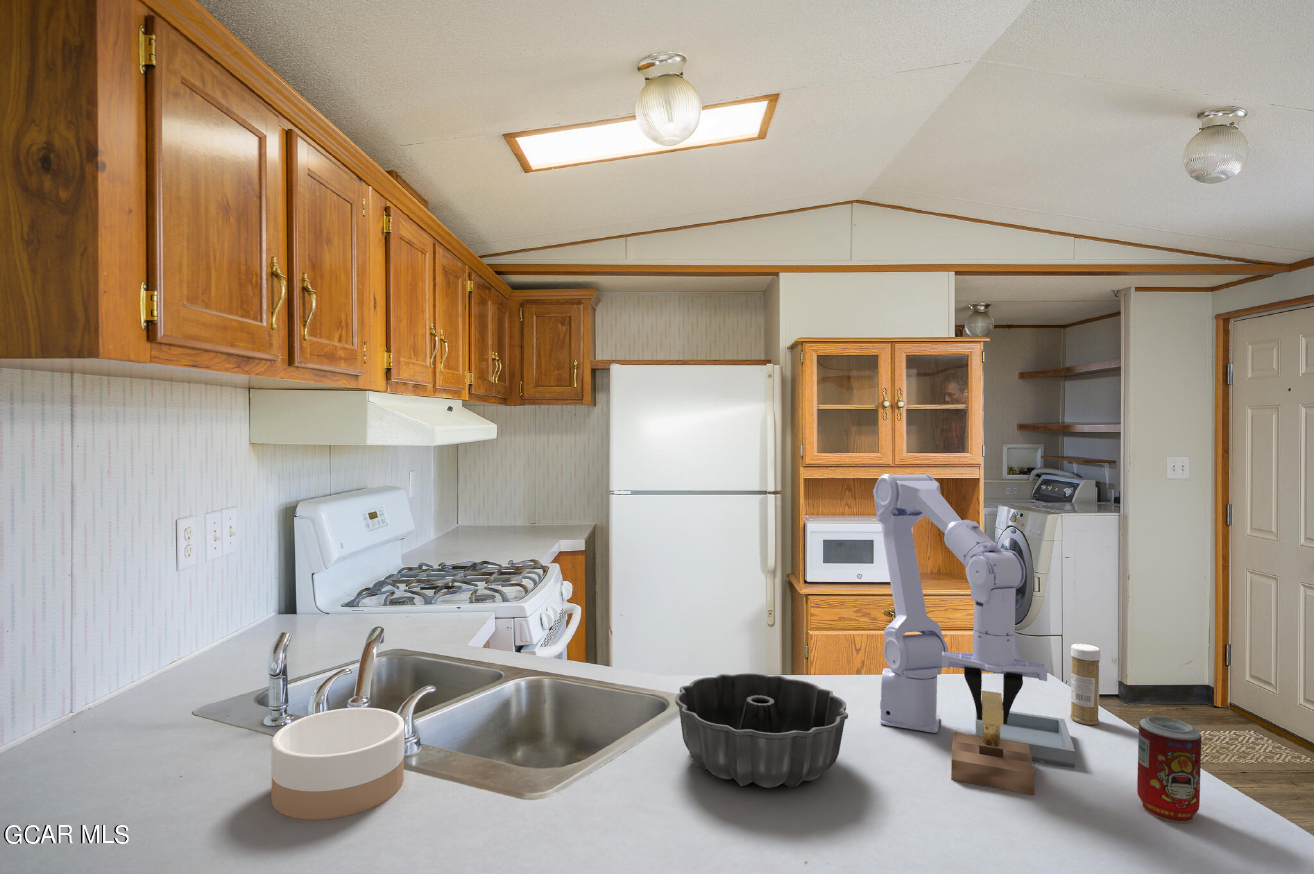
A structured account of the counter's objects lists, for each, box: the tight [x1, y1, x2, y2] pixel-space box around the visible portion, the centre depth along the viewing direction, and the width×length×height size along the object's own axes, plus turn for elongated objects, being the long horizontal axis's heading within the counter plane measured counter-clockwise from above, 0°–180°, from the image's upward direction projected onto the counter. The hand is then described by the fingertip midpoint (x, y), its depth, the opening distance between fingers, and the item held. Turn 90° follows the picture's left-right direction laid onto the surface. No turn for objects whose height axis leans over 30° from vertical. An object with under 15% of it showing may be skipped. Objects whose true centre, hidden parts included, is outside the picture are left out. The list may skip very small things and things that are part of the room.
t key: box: [981, 690, 1003, 747], centre depth 112 cm, size 8×3×7 cm, turn 157°
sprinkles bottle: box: [1069, 643, 1101, 726], centre depth 133 cm, size 5×5×14 cm
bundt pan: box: [674, 672, 849, 789], centre depth 114 cm, size 26×26×10 cm
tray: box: [975, 710, 1076, 768], centre depth 123 cm, size 14×14×2 cm
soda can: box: [1136, 715, 1203, 824], centre depth 101 cm, size 7×7×12 cm
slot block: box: [950, 731, 1035, 796], centre depth 112 cm, size 11×11×3 cm
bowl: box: [270, 707, 405, 821], centre depth 104 cm, size 17×17×8 cm
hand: (991, 719), depth 112 cm, fingers closed on t key, 3 cm apart
